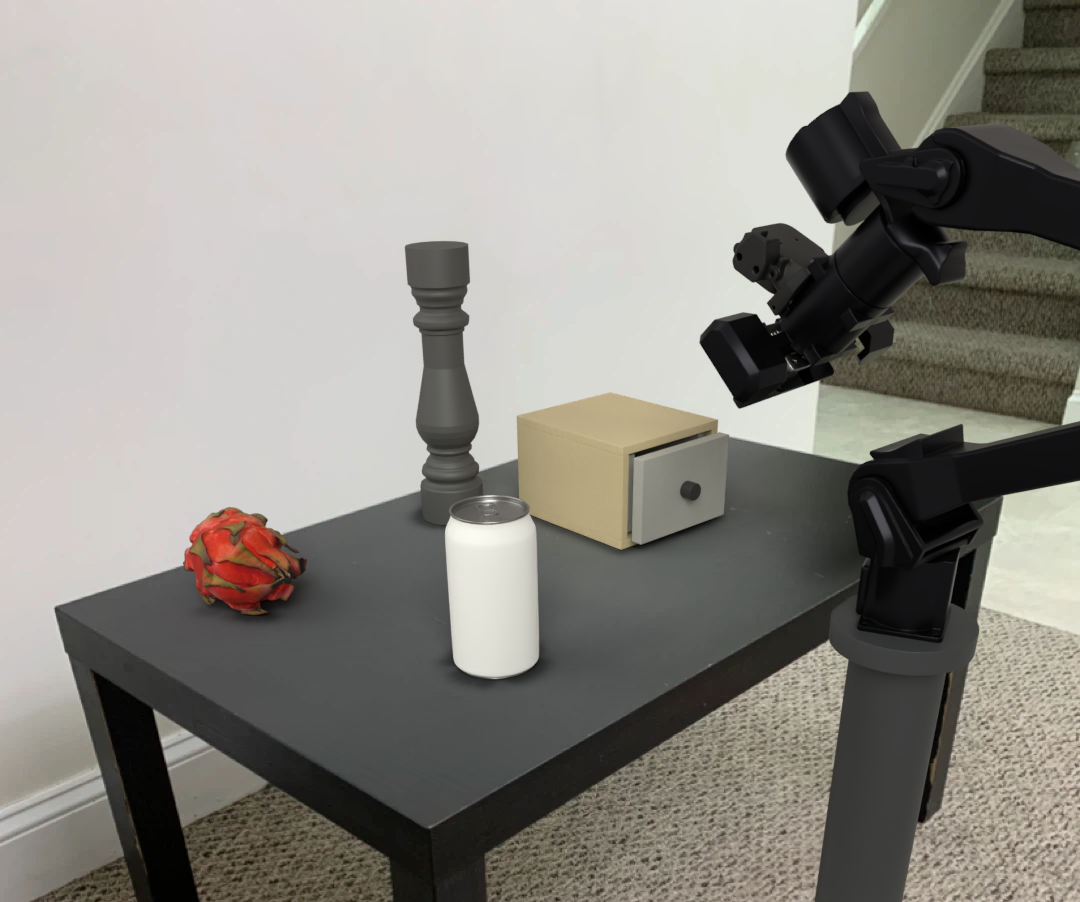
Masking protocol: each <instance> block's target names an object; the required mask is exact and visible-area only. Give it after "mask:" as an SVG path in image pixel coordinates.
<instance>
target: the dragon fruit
mask: <svg viewBox="0 0 1080 902" xmlns="http://www.w3.org/2000/svg"><path fill="white" fill-rule="evenodd" d="M268 521H269V519H268V518H267V517H266V516H265V515H263V514H262V513H258V512H257V513H256V512H255V513H247V512H244V511H243V510H241V509H240V508H237V507H234V506H233V507H232V506H231V507H230V506H228V507H225V508H222V509H220V510H219V511H217V512H211V513H209V514H208V515H207V516H206V518H205V519H203V520H202V521H201V522H199V524H197V525H196V526H195V527H194V528H193V530H192V531H191V532H190V535H189V537H188V539H189V542H190V543H191V546H190V547H187V548H185V550H184V554H183V556H184V559H183V560H184V561H183V562H182V566H183V570H184V571H185V572H192V573H193V572H194V576H195V587H196V589H197V592H198V594H199V595H200V597H201V598H202V600H203V601H204V603H206V604H207V605H209V606H211V605H213V604H214V603H216V602H217V601H218V600H220V601H222V602H224V603H225V604H227V605H228V606H229V607H230V608H231V609H233V610H235V611H239V612H240V614H242V615H249V616H259V615H265V614H269V613H270V612H269V611H268V610H264V609H263V608H262V607H261V601H266V600H268V601H277V600H279V599H280V600H282V601H285V602H287V600H289V597H290V596H291V594H293V592H294V591H295V584H294V581H293V580H295V579H297V578H299V577H300V576H302V575H303V574H304V573H305V572H306V570H307V565H308V560H307V557H306V556H300V558H299V557H295V556H293V555H291V554H289V553H287V552H285V551H283V550H282V547H284V548H286V549H287V550H288V551H291V552H292V553H293V554H300V551H298V549H296V548H293V547H291V546H290V545H289V544H288V539H287V537H285V536H284V535H282V534H281V532H280V531H278V530H275V529H273V528H272V527H266V526H267V523H268Z"/></svg>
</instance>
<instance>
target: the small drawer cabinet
mask: <svg viewBox="0 0 1080 902" xmlns="http://www.w3.org/2000/svg"><path fill="white" fill-rule="evenodd" d="M718 428H719V419H718V418H713V417H710V416H705V415H701V414H697V413H694V412H690V411H686V410H682V409H677V408H673V407H671V406H666V405H662V404H658V403H655V402H650V401H646V400H642V399H638V398H634V397H630V396H626V395H622V394H618V393H615V392H611V391H610V392H606V393H602V394H598V395H593V396H590V397H586V398H581V399H578V400H573V401H569V402H566V403H561V404H559V405H554V406H550V407H546V408H542V409H537V410H534V411H530V412H526V413H522V414H518V415H516V441H517V442H516V443H517V472H518V474H517V475H518V477H517V478H518V498H519V499H521V500H523V501H525V502H527V503H528V505H529V507H530V510H529V514H530V516H531V517H535V518H538V519H539V520H543V521H545V522H547V523H550V524H553V525H556V526H558V527H559V528H560V527H561V528H563V529H565V530H568V531H571V532H573V533H576V534H578V535H581V536H583V537H586V538H588V539H591V540H594V541H597V542H599V543H602V544H605V545H607V546H610V547H612V548H615V549H618V550H619V551H620V550H625V549H627V548H630V547H633V546H636V545H639V544H638V543H635V542H632V531H630V532H627V524H628V479H629V454H632V453H635V452H638V451H642V450H645V449H648V448H652V447H655V446H658V445H662V444H665V443H669V442H672V441H675V440H679V439H682V438H685V437H689V436H692V435H695V434H699V433H704V437H705V436H708V435H712V434H715V433H718V432H719V431H718Z"/></svg>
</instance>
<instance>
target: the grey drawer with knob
mask: <svg viewBox="0 0 1080 902" xmlns="http://www.w3.org/2000/svg"><path fill="white" fill-rule="evenodd" d="M729 443H730V433H729V434H728V433H724V432H721V431H717V433H715V434H712V435H708V436H705V437H704V433H699V434H695V435H692V436H689V437H685V438H682V439H679V440H675V441H672V442H669V443H665V444H662V445H658V446H655V447H652V448H648V449H645V450H642V451H638V452H635V453H632V454H629V479H628V524H627V532H630V531H632V542H635V543H638V544H637V545H641V546H642V545H644V544H647V543H650V542H653V541H655V540H659V539H660V538H663V537H666V536H668V535H672V534H674V533H678V532H679V531H683V530H685V529H688V528H690V527H693V526H696V525H699V524H701V523H704V522H707V521H709V520H713V519H715V518H718V517H721V516H724V515H725V500H726V487H727V474H728V473H727V472H728V459H729V445H730V444H729Z"/></svg>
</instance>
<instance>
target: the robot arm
mask: <svg viewBox="0 0 1080 902" xmlns="http://www.w3.org/2000/svg"><path fill="white" fill-rule="evenodd" d="M784 157H785V160H786V161H787V163H788V165H789V166H790V168H791V170H792V171H793V173H794V174H795V176H796V178H797V179H798V181H799V182H800V184H801V186H802V188H803V189H804V190H805V192H806V194H807V195H808V197H809V198H810V200H811V202H812V203H813V205H814V206H815V208H816V210H817V212H818V213H819V215H820V216H821V218H822V219H823V221H824V222H825V223H826V224H829V225H833V224H838V223H841V222H843V224H844V225H845V226H846V227H852V226H855V225H858V224H859V225H858V226H857V227H856V228H855V229H854V231H852V233H851V234H849V236H848V237H846V239H845V240H844V241H843V242H842V243H841V244H840V245H839V246H838V247H837V248H836V249H835V251H833V252H832V254H830V255H829V254H828V253H826V251H825V250H824V249H823V248H822V247H821V246H820V245H819V244H817V243H816V242H814V241H813V240H812V239H810V238H809V237H807V236H806V235H805V234H804V233H802V232H800V231H799V230H798V229H796V228H795V227H794V226H792V225H789V224H787V223H783V222H778V223H772V224H766V225H762V226H761V225H760V226H755V227H753V228H752V229H751V231H748V232H745V233H744V234H743V236H742V239H741V240H740V241H738V242H735V244H734V245H733V247H732V248H733V249H732V251H733V253H734V254H733V257H732V261H731V262H732V267H733V269H734V270H735V271H736V272H738V273H739V274H740V275H741V276H743V277H744V278H745V279H747V280H748V281H749V282H750V283H756V284H758V285H759V286H760V287H762V289H764V290H765V291H767V293H770V294H772V296H771V297H770V299H768V301H767V302H766V304H767V306H768V308H769V309H770V310H771V312H772V314H773V315H774V316H775V317H777V316H779V317H777V318H776V319H774V320H775V321H774V323H773V322H772V323H770V324H766V322H765V321H762V320H761V319H760V316H759V315H758V314H757V313H751V312H745V311H742V312H739V313H734V314H731V315H727V316H723V317H719V318H715V319H713V321H712V322H710V324H709V325H708V326H707V327H706V328H705V329H704V331H703V332H701V334H700V336H699V342H698V343H699V345H700V347H701V349H702V350H703V351H704V353H705V355H706V356H707V358H708V359H709V361H710V362H711V364H712V366H713V367H714V370H716V372H717V373H718V375H719V377H720V378H721V380H722V381H723V383H724V385H725V387H726V388H727V389H728V391H729V392H730V394H731V396H732V401H733V403H734V404H735V406H736V408H737V409H739V410H740V409H744V408H746V407H749V406H752V405H756V404H758V403H761V402H763V401H766V400H769V399H772V398H774V397H778V396H780V395H782V394H787V393H788V392H791V391H794V390H797V389H800V388H803V387H805V386H808V385H811V384H814V383H816V382H819V381H822V380H825V379H827V378H831V377H833V376H834V374H835V369H834V367H833V365H832V363H831V361H834V360H838V359H841V358H844V357H847V356H850V354H852V353H853V352H854V351H855V350H856V349H857V348H858V346H857V344H856V343H857V339H858V340H859V342H860V343H861V345H862V347H863V348H862V350H860V352H859V353H857V354H856V356H855V361H856V362H857V364H858V366H861V365H864V364H867V363H871V362H874V361H877V360H878V359H880V357H882V356H883V355H884V354H885V353H886V352H887V351H888V350H889V349H891V347H893V344H894V337H895V327H894V326H893V325H892V323H891V321H890V320H889V318H891V316H893V315H894V313H896V311H895V310H894V308H893V304H895V303H896V302H897V301H898V300H899V299H900V298H901V297H902V296H903V295H905V293H907V292H908V290H910V289H911V287H913V286H914V285H915V284H916V283H917V282H918V281H920V279H922V277H923V276H925V278H926V279H927V281H928V283H929V285H931V287H938V286H943V285H948V284H953V283H957V282H961V281H963V280H964V279H965V277H966V276H967V275H966V272H967V271H966V269H967V262H966V261H967V260H966V253H967V252H966V251H967V250H968V246H969V242H968V241H967V240H966V239H961V240H957V239H954V238H952V237H951V236H950V235H949V233H948V231H947V230H946V229H956V230H965V231H971V232H972V231H973V232H991V233H992V232H995V233H996V232H998V233H1013V234H1014V233H1015V234H1023V235H1031V236H1033V237H1037V238H1040V239H1043V240H1046V241H1049V242H1052V243H1056V244H1059V245H1062V246H1064V247H1068V248H1070V249H1074V250H1076V251H1080V168H1079V167H1077V166H1075V165H1073V164H1072V163H1069V162H1067V161H1066V160H1065V159H1064V158H1062V157H1061V156H1060V155H1059V154H1058V153H1057V152H1056V151H1054V150H1053V149H1052V148H1051V147H1050V146H1049V145H1047V144H1045V143H1043V142H1041V141H1039V140H1038V139H1035V138H1034V137H1032V136H1030V135H1029V134H1026V133H1025V132H1023V131H1021V130H1019V129H1017V128H1015V127H1013V126H1011V125H1008V124H1006V123H1005V124H1004V123H986V124H985V123H983V124H972V125H971V124H970V125H961V126H960V125H959V126H949V127H948V126H947V127H942V128H938V129H935V130H934V132H932V133H931V134H930V135H928V136H927V137H926V138H924V139H923V140H922V142H921V143H920V144H919V145H918V146H917V147H912V148H911V147H909V148H902V147H901V145H900V143H898V141H897V139H896V138H895V136H894V135H893V133H892V132H891V130H890V128H889V127H888V125H887V123H886V122H885V121H884V118H883V117H882V114H881V113H880V110H879V106H878V105H877V102H876V101H875V99H874V98H873V96H872V95H871V93H870V91H869V90H868V91H867V90H866V91H865V90H864V91H849V92H848V93H847V94H846V96H845V97H844V98H843V99H842V100H841V101H840V102H839V104H838V103H837V104H836V105H834V106H831V107H830V108H828V109H826V110H825V111H823V112H822V113H820V114H819V115H818V116H816V117H815V118H814V119H813V120H811V122H809V123H808V124H807V125H803V126H802V127H800V128H799V130H798V131H797V132H796V133H795V134H794V135H793V137H792V139H791V140H790V141H789V143H788V146H787V147H786V150H785V156H784ZM964 436H965V435H964V424H963V423H959V424H957V425H954V426H951V427H948V428H945V429H943V430H940V431H937V432H934V433H932V434H926V433H921V432H920V433H918V434H915V435H912V436H909V437H906V438H903V439H901V440H898V441H895V442H892V443H889V444H886V445H884V446H881V447H878V448H875V449H872V450H869V456H870V457H871V458H872V459H870V460H867V461H864V462H863V463H860V464H858V466H856V467H855V468H854V469H853V471H852V475H851V477H850V479H849V481H848V486H847V492H846V495H847V505H848V507H849V510H850V513H851V516H852V522H853V528H854V533H855V534H854V535H855V539H856V545H857V550H858V551H857V552H858V554H859V556H861V557H864V558H865V559H864V561H863V563H862V565H861V569H860V575H859V582H858V589H857V595H858V596H857V603H856V610H855V612H856V613H857V614H859V615H861V616H860V618H859V620H858V623H857V629H858V630H860V631H865V632H871V633H877V634H884V635H890V636H896V637H902V638H909V639H915V640H921V641H927V642H934V643H941V642H942V641H943V638H944V635H945V631H946V628H947V624H948V621H949V617H950V614H951V609H952V608H951V607H950V603H951V602H952V596H953V590H954V586H955V581H956V580H955V579H956V575H957V569H958V563H959V560H960V559H959V558H960V553H961V547H963V546H965V545H970V544H972V543H973V542H974V541H975V539H976V538H977V536H978V534H979V533H980V531H981V529H982V527H983V526H984V523H985V522H984V519H983V517H982V515H981V514H980V512H979V510H978V509H977V507H976V505H975V504H974V503H973V502H978V501H982V500H987V499H992V498H999V497H1003V496H1009V495H1014V494H1019V493H1023V492H1024V493H1025V492H1029V491H1030V492H1031V491H1034V490H1039V489H1044V488H1050V487H1056V486H1060V485H1061V486H1062V485H1066V484H1071V483H1076V482H1080V420H1079V421H1074V422H1070V423H1065V424H1062V425H1058V426H1053V427H1049V428H1044V429H1041V430H1036V431H1032V432H1027V433H1023V434H1019V435H1015V436H1012V437H1006V438H1003V439H999V440H995V441H989V442H983V443H982V442H979V443H978V442H971V441H965V437H964Z"/></svg>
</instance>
